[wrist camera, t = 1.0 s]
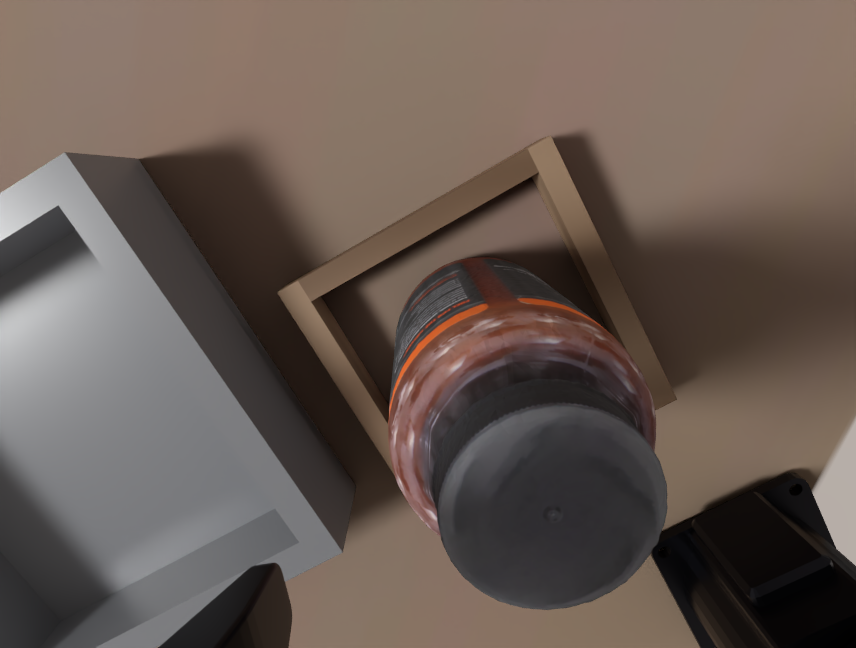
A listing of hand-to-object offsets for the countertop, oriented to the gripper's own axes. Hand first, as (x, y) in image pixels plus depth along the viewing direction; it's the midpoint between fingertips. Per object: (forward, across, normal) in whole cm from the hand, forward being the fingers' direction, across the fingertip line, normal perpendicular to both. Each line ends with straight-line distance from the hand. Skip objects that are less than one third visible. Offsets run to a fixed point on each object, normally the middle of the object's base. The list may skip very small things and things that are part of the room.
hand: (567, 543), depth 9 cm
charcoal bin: (+12, +15, +1) cm, 19 cm away
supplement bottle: (+12, 0, 0) cm, 12 cm away
